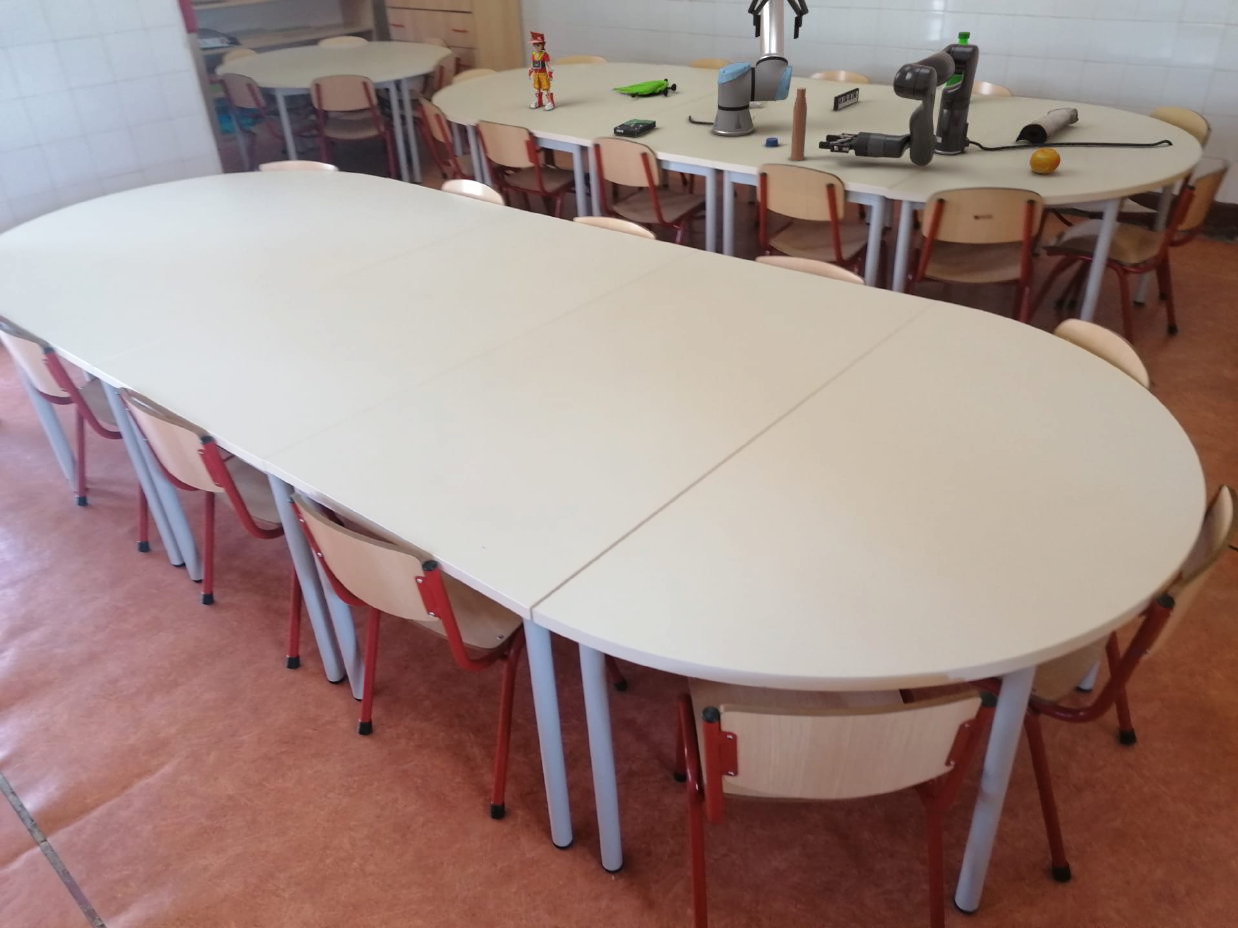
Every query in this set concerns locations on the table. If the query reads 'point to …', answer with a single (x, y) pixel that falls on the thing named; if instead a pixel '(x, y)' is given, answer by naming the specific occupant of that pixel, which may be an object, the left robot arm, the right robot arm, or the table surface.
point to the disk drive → (634, 127)
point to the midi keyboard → (846, 98)
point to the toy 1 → (541, 71)
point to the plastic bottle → (962, 40)
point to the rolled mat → (1048, 125)
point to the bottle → (799, 125)
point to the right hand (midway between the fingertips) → (822, 141)
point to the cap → (771, 142)
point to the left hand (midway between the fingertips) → (776, 37)
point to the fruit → (1045, 160)
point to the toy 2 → (648, 88)
